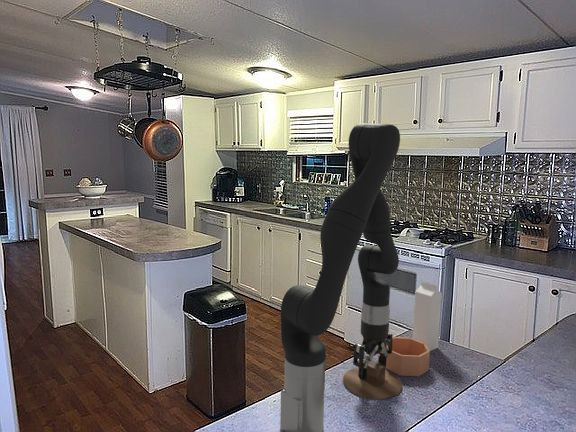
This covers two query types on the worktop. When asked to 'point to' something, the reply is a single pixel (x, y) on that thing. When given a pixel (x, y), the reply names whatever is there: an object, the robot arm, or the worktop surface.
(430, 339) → the milk
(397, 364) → the bowl
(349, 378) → the lid
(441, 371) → the worktop surface
